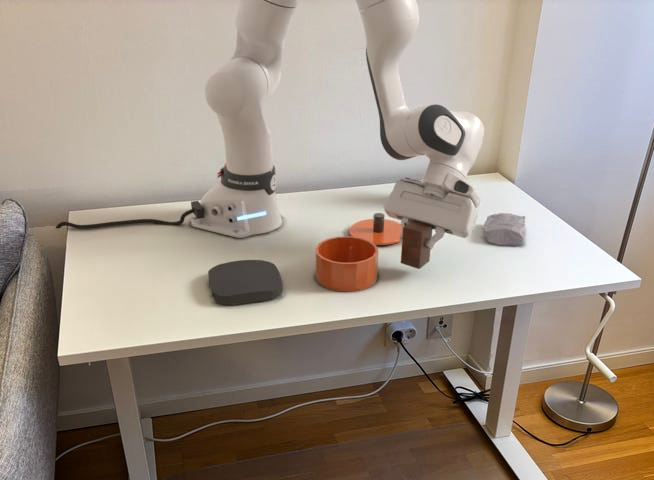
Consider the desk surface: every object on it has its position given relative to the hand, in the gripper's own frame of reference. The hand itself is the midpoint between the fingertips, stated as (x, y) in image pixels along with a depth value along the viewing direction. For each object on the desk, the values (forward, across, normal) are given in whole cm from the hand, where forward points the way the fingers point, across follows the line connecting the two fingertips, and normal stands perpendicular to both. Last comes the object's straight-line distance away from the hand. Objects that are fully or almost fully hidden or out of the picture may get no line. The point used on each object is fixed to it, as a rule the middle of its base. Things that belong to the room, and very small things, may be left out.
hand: (415, 244), depth 153 cm
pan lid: (-4, -17, +14) cm, 22 cm away
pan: (+12, -11, -1) cm, 16 cm away
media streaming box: (+24, -26, -12) cm, 37 cm away
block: (+3, 0, +4) cm, 5 cm away
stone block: (-16, +8, +27) cm, 32 cm away
